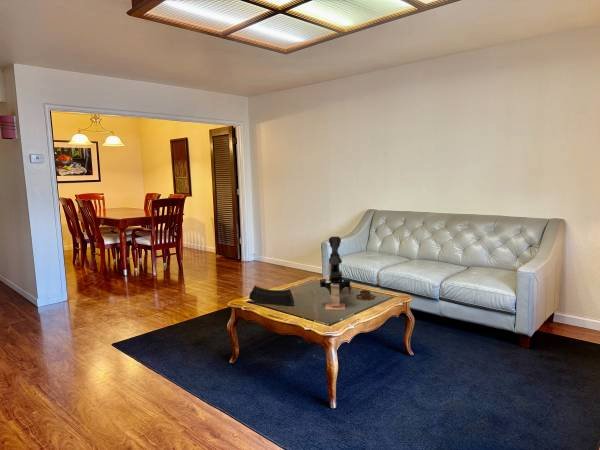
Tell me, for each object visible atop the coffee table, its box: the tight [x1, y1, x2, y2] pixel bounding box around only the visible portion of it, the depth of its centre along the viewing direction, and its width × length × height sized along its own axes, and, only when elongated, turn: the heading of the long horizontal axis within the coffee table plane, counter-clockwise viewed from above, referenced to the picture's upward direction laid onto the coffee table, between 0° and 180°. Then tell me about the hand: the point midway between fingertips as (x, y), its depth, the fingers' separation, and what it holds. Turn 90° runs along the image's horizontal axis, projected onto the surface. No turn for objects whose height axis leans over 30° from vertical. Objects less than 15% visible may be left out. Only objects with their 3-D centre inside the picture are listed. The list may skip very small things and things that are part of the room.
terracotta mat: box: [325, 302, 346, 311], centre depth 255 cm, size 12×12×1 cm
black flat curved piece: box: [248, 285, 295, 306], centre depth 264 cm, size 17×3×30 cm
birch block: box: [330, 283, 340, 306], centre depth 254 cm, size 5×5×13 cm
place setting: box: [347, 285, 375, 301], centre depth 277 cm, size 18×20×6 cm
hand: (335, 295), depth 253 cm, fingers closed on birch block, 5 cm apart
